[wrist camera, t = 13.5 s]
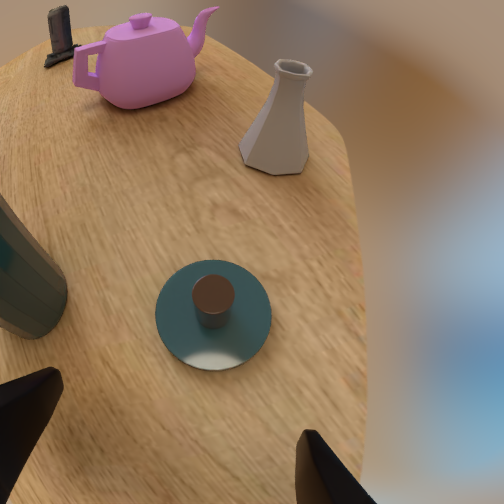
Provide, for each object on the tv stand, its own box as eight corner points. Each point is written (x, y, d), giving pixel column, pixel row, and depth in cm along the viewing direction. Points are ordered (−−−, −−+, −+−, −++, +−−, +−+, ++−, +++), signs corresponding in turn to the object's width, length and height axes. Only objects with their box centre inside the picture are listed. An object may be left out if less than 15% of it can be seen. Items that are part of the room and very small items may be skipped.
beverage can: (78, 46, 42) (71, 0, 32) (87, 52, 40) (80, 1, 29) (40, 64, 38) (30, 17, 28) (45, 72, 36) (33, 20, 26)
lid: (259, 381, 18) (271, 376, 14) (145, 355, 18) (127, 342, 14) (275, 278, 22) (290, 248, 18) (174, 256, 22) (167, 222, 18)
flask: (234, 171, 27) (245, 77, 18) (241, 126, 30) (252, 45, 22) (310, 182, 27) (343, 96, 19) (306, 136, 31) (330, 60, 22)
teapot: (238, 86, 35) (247, 13, 25) (90, 137, 28) (69, 52, 18) (193, 55, 39) (196, -4, 30) (74, 94, 32) (60, 29, 22)
